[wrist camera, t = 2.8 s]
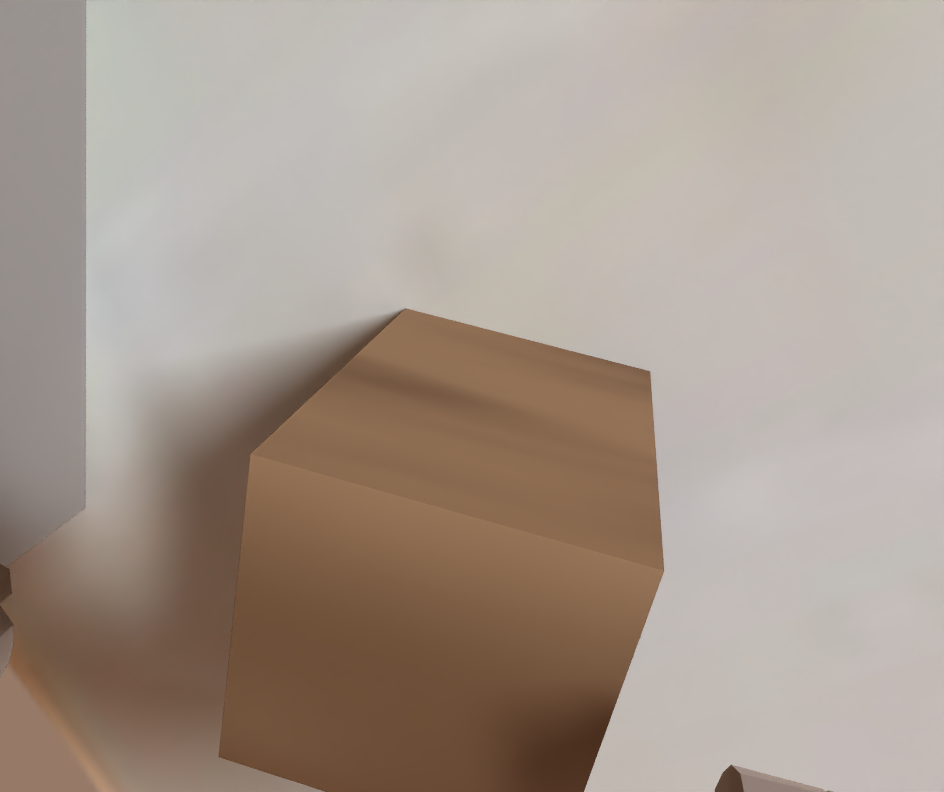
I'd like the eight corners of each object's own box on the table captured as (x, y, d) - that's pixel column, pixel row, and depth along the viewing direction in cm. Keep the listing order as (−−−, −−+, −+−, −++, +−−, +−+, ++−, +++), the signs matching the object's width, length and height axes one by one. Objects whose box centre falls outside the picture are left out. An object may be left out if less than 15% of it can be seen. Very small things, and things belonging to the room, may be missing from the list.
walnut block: (584, 578, 17) (556, 866, 11) (368, 516, 18) (219, 756, 11) (649, 370, 15) (664, 571, 9) (405, 308, 16) (250, 453, 9)
